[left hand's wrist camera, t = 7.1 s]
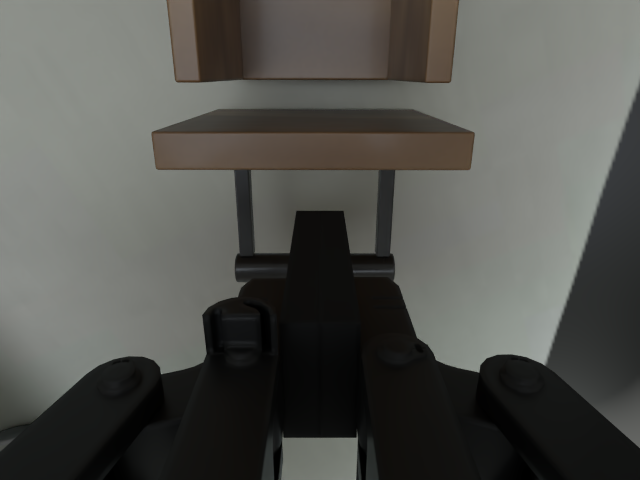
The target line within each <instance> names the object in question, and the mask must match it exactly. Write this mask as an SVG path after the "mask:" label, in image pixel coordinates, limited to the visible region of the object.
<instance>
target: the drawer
mask: <svg viewBox="0 0 640 480" xmlns="http://www.w3.org/2000/svg"><path fill="white" fill-rule="evenodd" d="M458 5H459V0H167V7H168V17H169V26H170V36H171V45H172V55H173V64H174V74H175V80H176V82H213V81H229V80H396V81H409V82H422V83H450V82H451V76H452V66H453V56H454V46H455V35H456V25H457V15H458ZM474 136H475V134H474V132H472V131H469V130H466V129H464V128H461V127H458V126H456V125H453V124H450V123H448V122H445V121H442V120H440V119H437V118H434V117H431V116H429V115H426V114H423V113H421V112H418V111H415V110H342V109H218V110H215V111H212V112H209V113H206V114H203V115H200V116H197V117H194V118H191V119H188V120H185V121H183V122H180V123H177V124H174V125H171V126H168V127H165V128H162V129H159V130H156V131H153V132H152V141H153V149H154V157H155V165H156V169H158V170H234V173H235V188H236V203H237V218H238V233H239V248H240V253H238V254H237V256H236V259H235V277H236V281H237V282H249V281H250V280H251V279H252V278H286V275H287V269H288V262H289V256H290V253H254V252H255V242H254V223H253V204H252V185H251V170H379V178H378V199H377V220H376V241H375V253H350V256H351V262H352V269H353V275H354V277H388V278H390V279H391V280H392V281H393V280H394V276H395V261H394V256H393V254H391V253H390V246H391V229H392V213H393V196H394V180H395V170H470V168H471V161H472V152H473V144H474Z"/></svg>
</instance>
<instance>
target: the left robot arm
mask: <svg viewBox="0 0 640 480" xmlns="http://www.w3.org/2000/svg"><path fill="white" fill-rule="evenodd" d="M202 316H203V325H204V333H205V342H206V351H207V354H206V357H205V360H204V362H203V363H201V364H199V365H197V366H195V367H191V368H188V369H184V370H180V371H176V372H171V373H166V374H161V372H160V367H159V366H158V365H157V364H156V363H155V361H154V360H151V359H148V358H145V357H130V356H129V357H123V358H118V359H114V360H111V361H109V362H107V363H104V364H102V365H99V366H98V367H96V368H95V369H93V370H92V371H90V372H89V373H87V374H86V375H85V376H84V377H83V378H82V379H81V380H79V381H78V382H77V383H76V384H75V385H74V386H73V387H72V388H71V389H69V390H68V391H67V392H66V393H65V394H64V395H63V396H62V397H60V398H59V399H58V400H57V401H56V402H55V403H54V404H53V405H52V406H50V407H49V408H48V409H47V410H46V411H45V412H44V413H43V414H42V415H40V416H39V417H38V418H37V419H36V420H35V421H34V422H33V423H31V424H30V425H24V426H19V427H14V428H10V429H7V430H4V431H1V432H0V480H281V475H282V464H283V452H282V435H283V437H284V438H356V437H357V433H358V452H357V476H356V480H640V448H639V447H638V446H637V445H635V444H634V443H633V442H632V441H631V440H630V439H629V438H628V437H626V436H625V435H624V434H623V433H622V432H621V431H620V430H619V429H617V428H616V427H615V426H614V425H613V424H612V423H611V422H610V421H608V420H607V419H606V418H605V417H604V416H603V415H602V414H601V413H599V412H598V411H597V410H596V409H595V408H594V407H593V406H592V405H590V404H589V403H588V402H587V401H586V400H585V399H584V398H583V397H581V396H580V395H579V394H578V393H577V392H576V391H575V390H573V389H572V388H571V387H570V386H569V385H568V384H567V383H566V382H565V381H563V380H562V379H561V378H560V377H559V376H558V375H557V374H556V373H554V372H553V371H552V370H550V369H549V368H547V367H546V366H544V365H543V364H541V363H539V362H536V361H534V360H532V359H529V358H527V357H522V356H518V355H496V356H493V357H490V358H487V359H486V360H485V361H484V362H483V363H482V364H481V366H480V372H479V373H478V372H474V371H469V370H464V369H459V368H455V367H452V366H448V365H445V364H443V363H441V362H439V361H436V359H435V356H434V354H433V352H432V351H431V349H430V348H429V346H428V345H427V344H425V343H424V342H422V341H421V340H419V339H418V338H417V336H416V334H415V331H414V328H413V325H412V322H411V319H410V316H409V314H408V311H407V309H406V305H405V302H404V299H403V296H402V294H401V291H400V288H399V286H398V285H397V284H396V283H394V282H393V281H392V280H391V279H390V278H388V277H354V275H353V269H352V262H351V256H350V250H349V243H348V237H347V230H346V224H345V218H344V211H296V218H295V224H294V230H293V237H292V243H291V250H290V256H289V262H288V269H287V275H286V278H252V279H251V280H250V281H249V282H247V283H246V284H245V285H244V286H243V287H241V290H240V293H239V295H238V297H236V298H230V299H226V300H223V301H220V302H217V303H216V304H214V305H212V306H210V307H209V308H208V309H207V310H206V311H205V312H204V314H203V315H202Z"/></svg>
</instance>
